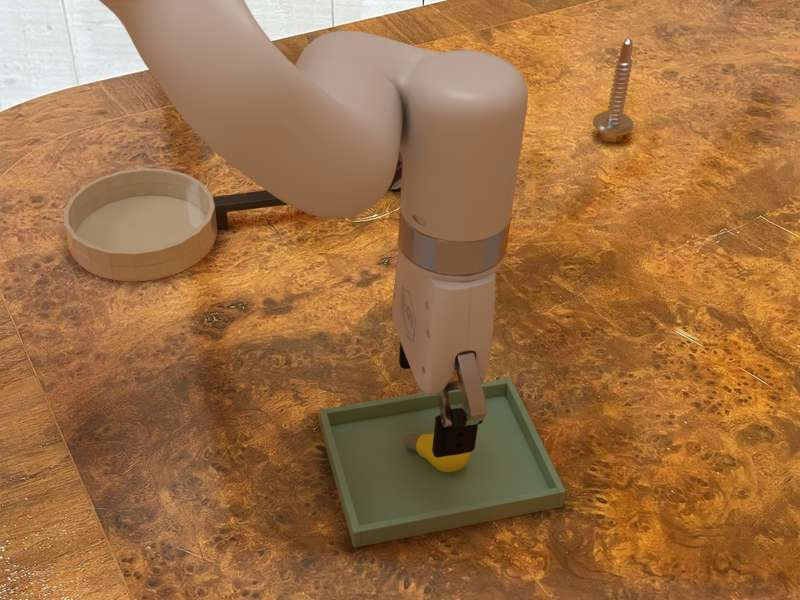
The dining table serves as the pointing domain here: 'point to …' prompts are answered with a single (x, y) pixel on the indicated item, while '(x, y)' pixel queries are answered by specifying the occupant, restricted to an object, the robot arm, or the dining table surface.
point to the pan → (140, 224)
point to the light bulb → (424, 449)
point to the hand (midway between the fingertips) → (434, 406)
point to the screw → (617, 100)
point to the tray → (420, 481)
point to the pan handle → (242, 204)
